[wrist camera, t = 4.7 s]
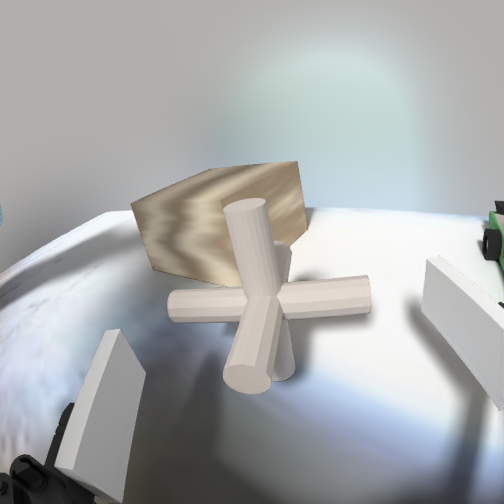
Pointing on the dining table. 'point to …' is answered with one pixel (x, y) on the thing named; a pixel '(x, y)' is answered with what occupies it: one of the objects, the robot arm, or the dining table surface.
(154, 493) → the dining table surface
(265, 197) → the birch block
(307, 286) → the pipe connector
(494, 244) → the toy car
